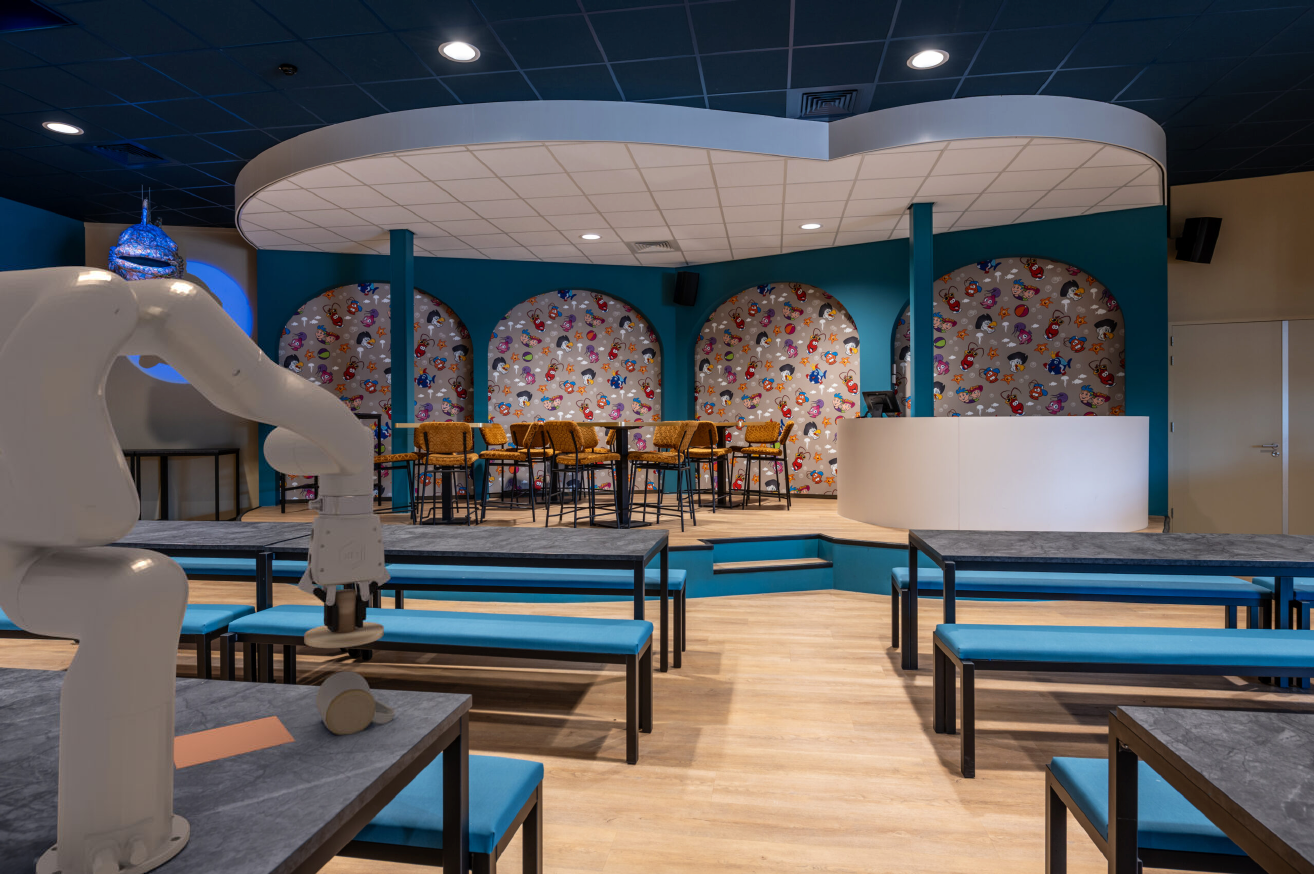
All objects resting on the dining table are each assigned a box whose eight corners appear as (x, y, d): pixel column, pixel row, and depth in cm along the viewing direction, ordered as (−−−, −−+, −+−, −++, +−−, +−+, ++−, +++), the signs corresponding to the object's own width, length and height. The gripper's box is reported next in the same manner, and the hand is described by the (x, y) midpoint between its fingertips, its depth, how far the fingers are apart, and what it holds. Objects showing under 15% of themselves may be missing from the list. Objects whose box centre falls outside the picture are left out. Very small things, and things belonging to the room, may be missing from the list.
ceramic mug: (324, 743, 101) (326, 689, 101) (314, 724, 107) (316, 674, 108) (400, 729, 107) (402, 678, 107) (386, 712, 113) (388, 664, 114)
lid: (394, 638, 106) (394, 592, 106) (315, 652, 99) (316, 602, 99) (370, 624, 114) (370, 581, 114) (295, 635, 107) (296, 589, 107)
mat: (295, 744, 100) (295, 740, 100) (176, 773, 91) (176, 768, 91) (275, 719, 109) (275, 715, 109) (166, 743, 100) (166, 738, 100)
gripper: (293, 511, 99) (292, 643, 98) (409, 505, 109) (407, 624, 109) (280, 507, 104) (279, 631, 104) (391, 502, 115) (390, 615, 115)
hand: (345, 626), depth 107 cm, fingers closed on lid, 3 cm apart
